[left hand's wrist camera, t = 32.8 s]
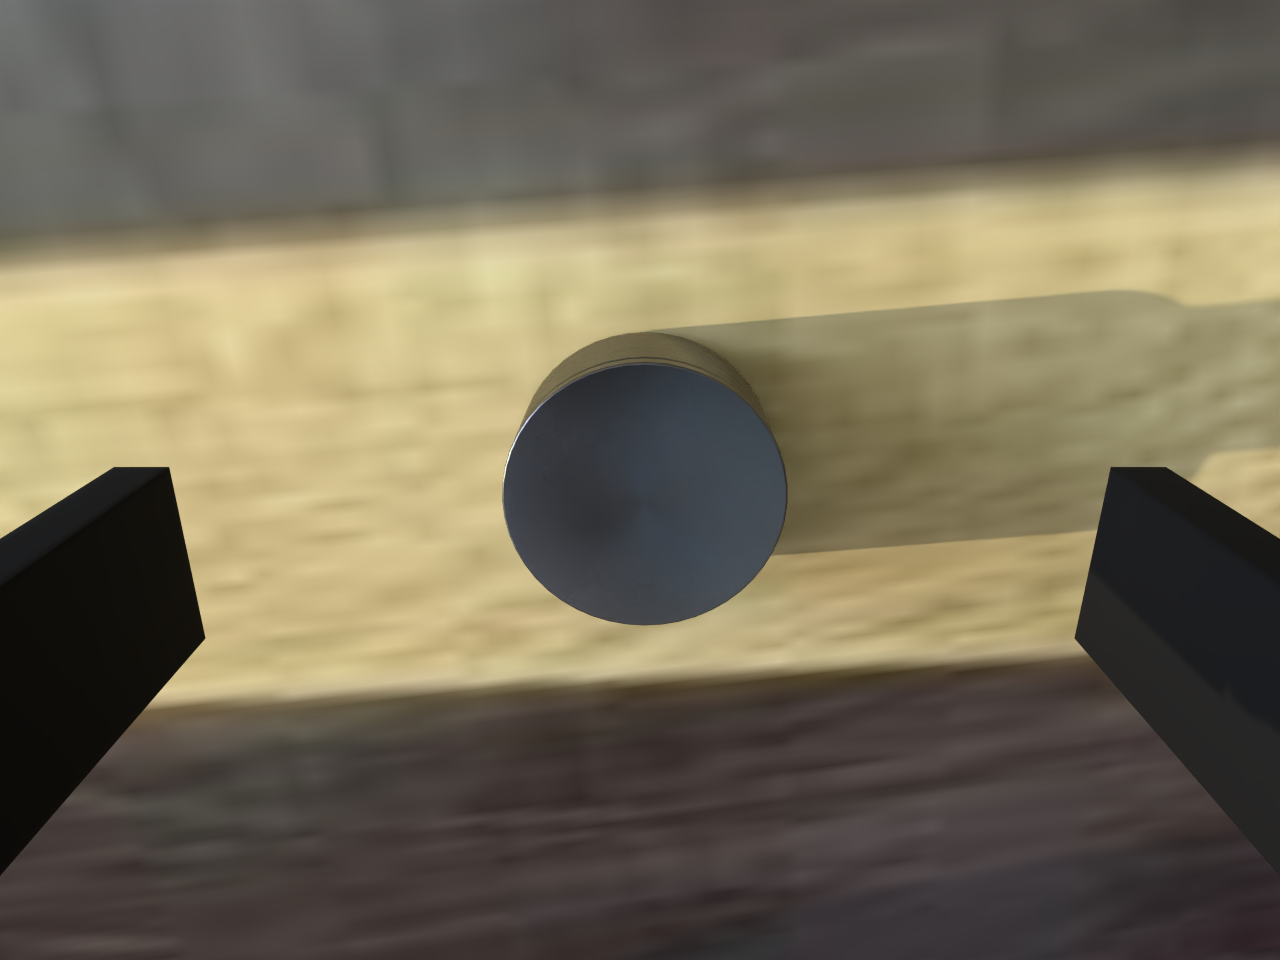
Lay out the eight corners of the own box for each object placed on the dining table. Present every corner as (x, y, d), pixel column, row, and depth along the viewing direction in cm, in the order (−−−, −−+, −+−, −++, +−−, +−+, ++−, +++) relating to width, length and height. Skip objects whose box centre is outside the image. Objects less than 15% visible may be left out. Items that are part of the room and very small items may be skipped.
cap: (791, 535, 17) (812, 592, 14) (561, 589, 17) (550, 651, 15) (740, 302, 15) (755, 328, 13) (486, 368, 15) (462, 404, 13)
